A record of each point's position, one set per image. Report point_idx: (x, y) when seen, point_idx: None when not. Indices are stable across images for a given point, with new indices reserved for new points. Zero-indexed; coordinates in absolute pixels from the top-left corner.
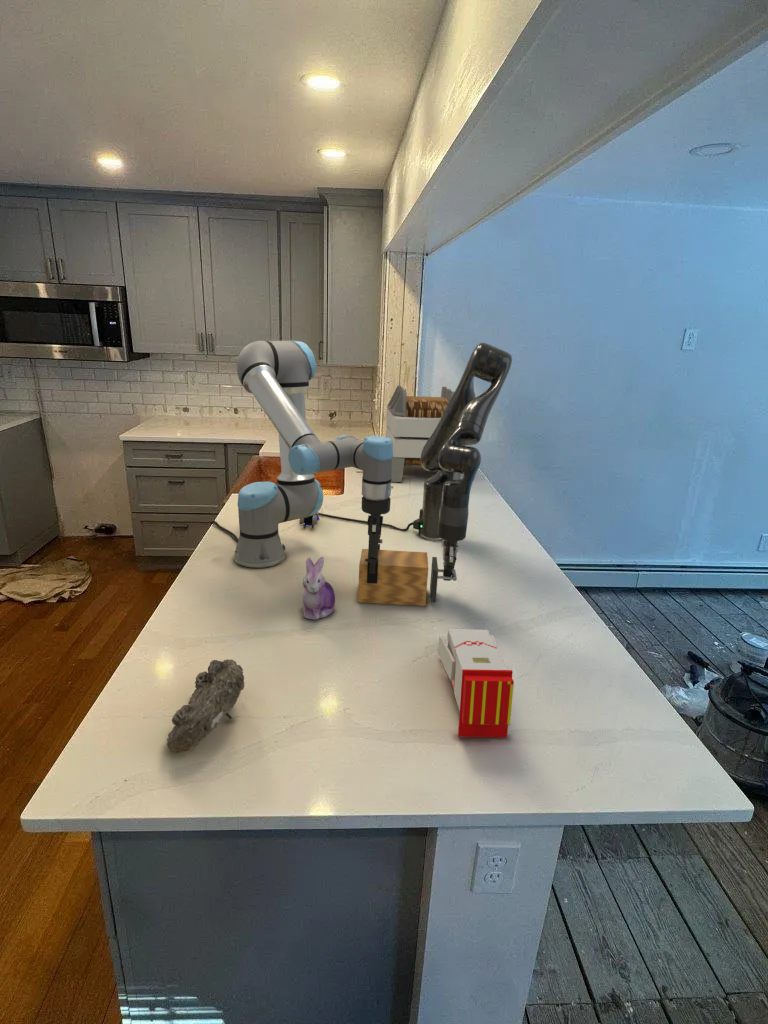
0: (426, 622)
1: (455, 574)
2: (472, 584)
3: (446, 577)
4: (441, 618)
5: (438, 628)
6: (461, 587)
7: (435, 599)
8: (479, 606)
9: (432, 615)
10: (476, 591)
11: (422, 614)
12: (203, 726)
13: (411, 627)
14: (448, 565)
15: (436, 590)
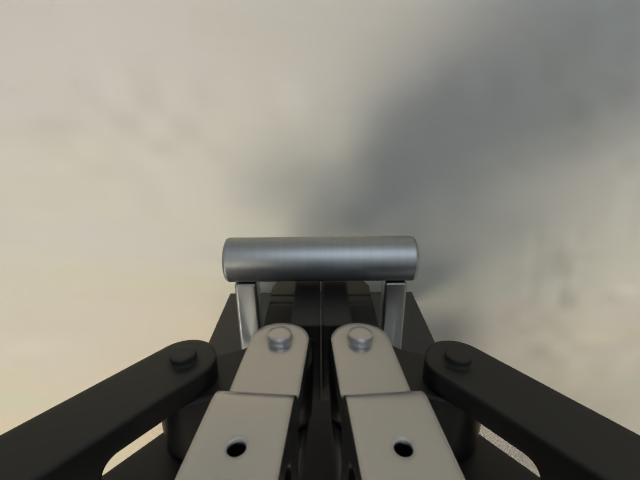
0: (570, 324)
1: (353, 255)
2: (72, 24)
3: (400, 329)
4: (540, 256)
5: (635, 274)
6: (147, 115)
7: (415, 303)
8: (403, 5)
9: (506, 297)
10: (178, 3)
11: (493, 339)
12: None
13: (603, 380)
14: (475, 440)
15: (431, 337)
